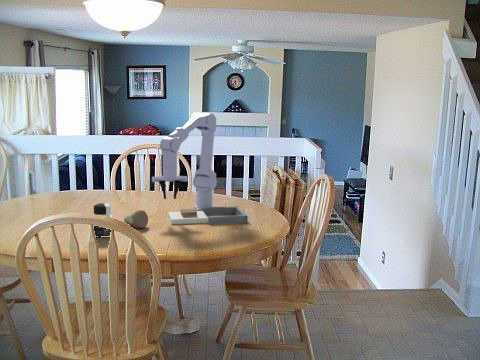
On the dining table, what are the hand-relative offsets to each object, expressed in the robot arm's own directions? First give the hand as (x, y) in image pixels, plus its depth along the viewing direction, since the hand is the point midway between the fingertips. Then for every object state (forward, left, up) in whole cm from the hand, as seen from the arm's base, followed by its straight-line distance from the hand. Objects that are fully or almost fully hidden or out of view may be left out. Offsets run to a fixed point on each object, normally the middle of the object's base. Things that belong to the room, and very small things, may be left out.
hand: (169, 198), depth 213 cm
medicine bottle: (+17, -27, -10) cm, 33 cm away
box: (0, +23, -9) cm, 25 cm away
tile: (0, +8, -7) cm, 11 cm away
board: (0, +8, -9) cm, 12 cm away
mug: (+7, -15, -10) cm, 19 cm away
